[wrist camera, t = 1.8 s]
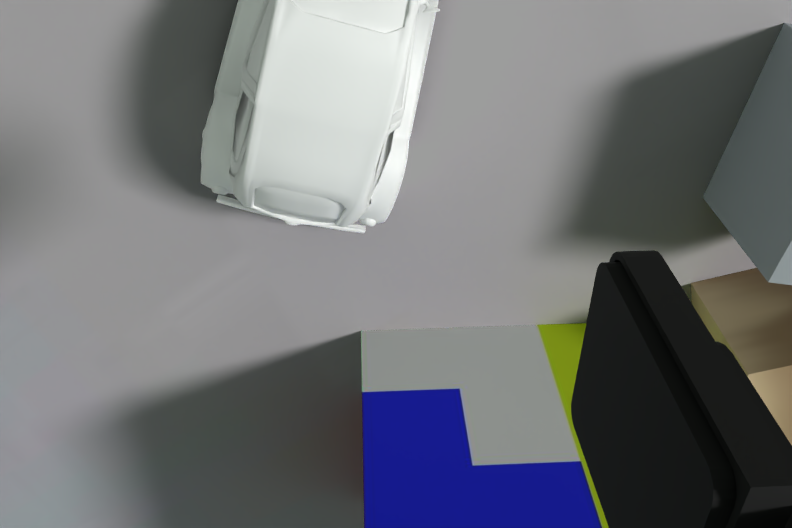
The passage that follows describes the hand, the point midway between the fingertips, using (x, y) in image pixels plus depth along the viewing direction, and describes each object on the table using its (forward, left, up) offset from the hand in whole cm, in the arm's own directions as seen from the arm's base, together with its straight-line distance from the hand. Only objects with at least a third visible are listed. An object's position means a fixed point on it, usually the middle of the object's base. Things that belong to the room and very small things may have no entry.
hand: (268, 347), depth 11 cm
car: (-1, 0, -14) cm, 14 cm away
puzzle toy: (-6, +16, -14) cm, 22 cm away
